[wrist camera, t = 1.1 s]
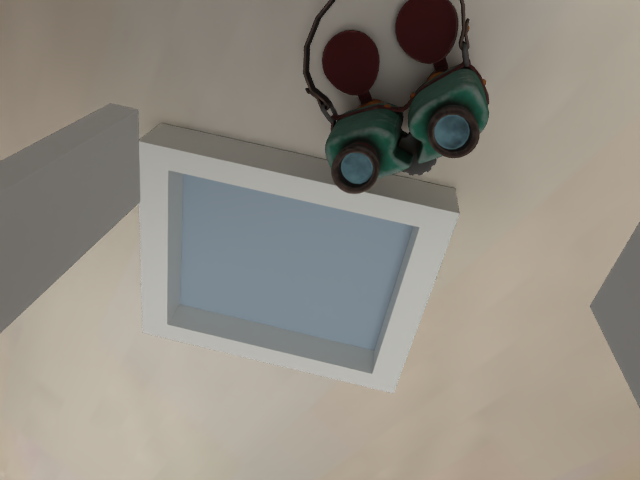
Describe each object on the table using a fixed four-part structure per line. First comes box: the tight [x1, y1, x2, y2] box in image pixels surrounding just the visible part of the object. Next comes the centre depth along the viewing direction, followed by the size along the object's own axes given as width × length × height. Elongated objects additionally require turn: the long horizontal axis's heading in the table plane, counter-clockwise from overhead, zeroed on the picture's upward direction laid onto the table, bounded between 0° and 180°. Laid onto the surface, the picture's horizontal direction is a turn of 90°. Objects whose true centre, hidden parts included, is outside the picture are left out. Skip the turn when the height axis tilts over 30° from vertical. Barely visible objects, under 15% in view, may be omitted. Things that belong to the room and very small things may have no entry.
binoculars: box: [303, 0, 489, 194], centre depth 25 cm, size 9×11×10 cm
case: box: [139, 123, 460, 394], centre depth 36 cm, size 16×20×4 cm
